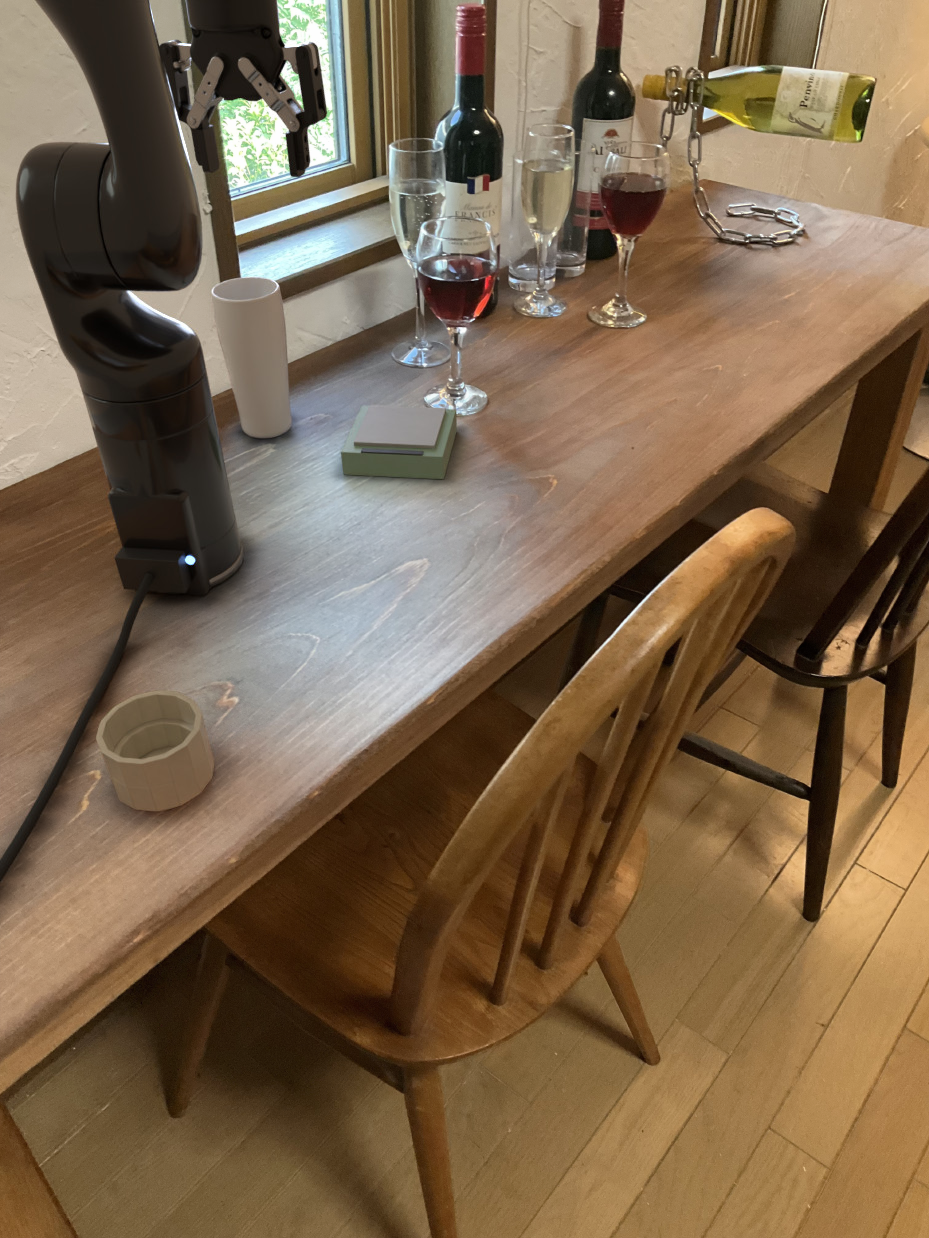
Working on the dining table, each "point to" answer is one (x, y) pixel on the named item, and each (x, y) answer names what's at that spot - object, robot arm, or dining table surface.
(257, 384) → the drinking glass
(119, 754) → the beige cup
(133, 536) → the robot arm
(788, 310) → the dining table surface
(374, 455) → the scale
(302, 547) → the dining table surface
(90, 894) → the dining table surface
